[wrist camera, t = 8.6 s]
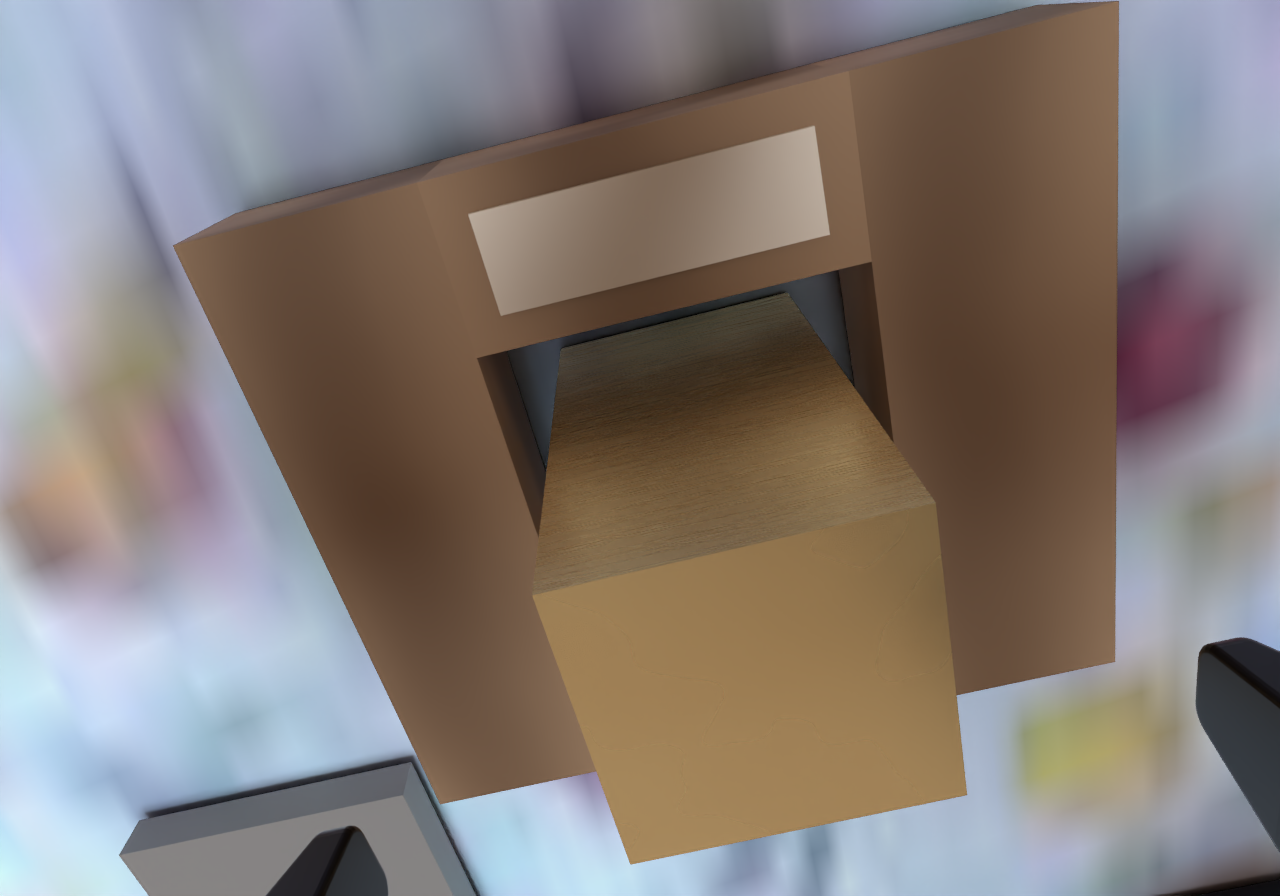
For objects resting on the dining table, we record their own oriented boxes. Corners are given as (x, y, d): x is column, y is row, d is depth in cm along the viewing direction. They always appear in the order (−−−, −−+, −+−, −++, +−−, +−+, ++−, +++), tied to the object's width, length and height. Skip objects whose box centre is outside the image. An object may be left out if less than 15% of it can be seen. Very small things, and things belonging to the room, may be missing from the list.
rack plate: (1037, 5, 14) (1122, 0, 12) (1055, 588, 20) (1117, 665, 17) (236, 213, 15) (169, 247, 13) (457, 718, 20) (439, 808, 18)
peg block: (787, 292, 16) (935, 503, 9) (821, 491, 18) (967, 795, 11) (560, 348, 17) (531, 594, 9) (618, 538, 19) (630, 864, 11)
